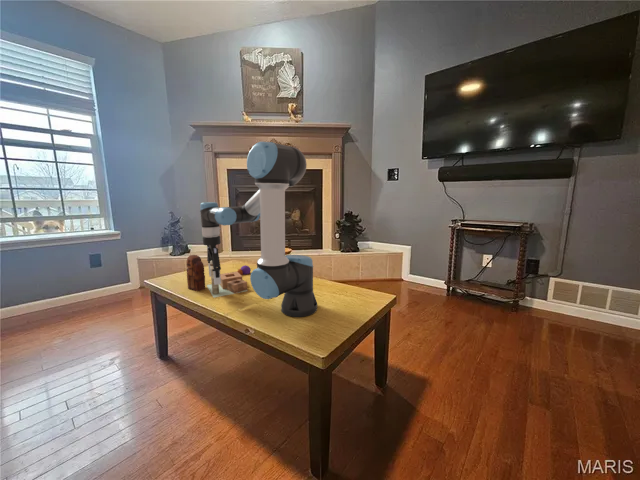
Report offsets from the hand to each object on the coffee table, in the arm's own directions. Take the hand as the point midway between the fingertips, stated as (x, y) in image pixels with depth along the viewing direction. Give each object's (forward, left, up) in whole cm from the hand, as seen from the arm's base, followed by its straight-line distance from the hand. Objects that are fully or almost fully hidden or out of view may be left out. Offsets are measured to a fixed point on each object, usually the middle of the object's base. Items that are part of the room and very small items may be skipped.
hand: (214, 279), depth 123 cm
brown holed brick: (-1, -10, -7) cm, 12 cm away
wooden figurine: (+13, +7, -8) cm, 17 cm away
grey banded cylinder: (0, 0, -7) cm, 7 cm away
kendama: (+22, -15, -8) cm, 28 cm away
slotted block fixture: (+5, -6, -8) cm, 11 cm away
